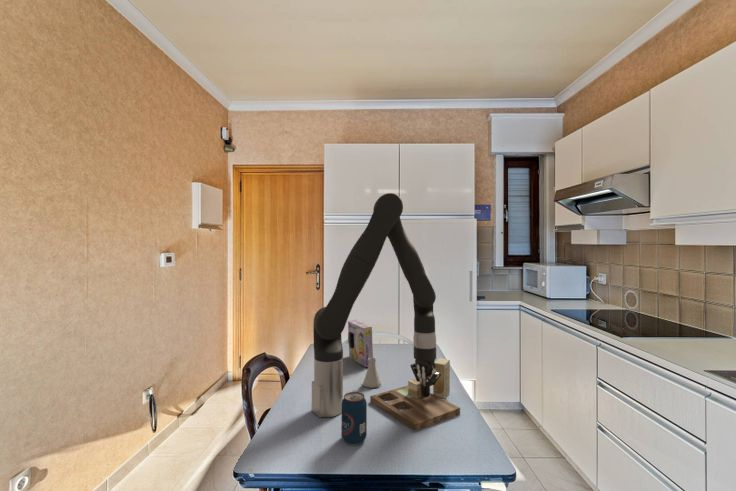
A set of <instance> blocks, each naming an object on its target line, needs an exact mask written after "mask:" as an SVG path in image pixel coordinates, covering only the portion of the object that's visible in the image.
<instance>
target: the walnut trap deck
mask: <svg viewBox="0 0 736 491" xmlns="http://www.w3.org/2000/svg"><path fill="white" fill-rule="evenodd" d="M369 398H370V399H369V402H370V403H371V404H373V405H374V406H376V407H378V408H379V409H381V410H382V411H383V412H385V413H387V414H388V415H390V416H391V417H392V418H394V419H396V420H397V421H399V422H400V423H402V424H403V425H405V426H407V428H410V429H411V430H412V431H415V432H417V431H419V430H422V429H424V428H427V427H429V426H433V425H435V424H437V423H441V422H443V421H445V420H448V419H450V418H454V417H456V416H458V415H461V407H459V406H457V404H456V405H455V404H454V403H452V402H449V400H446V399H443V398H440V397H438V396H436V395H433V393H431V392H430V395H429V397H426V398H425V397H423V396H422V397H419V398H415V397H414V396H412V395H410V394H408V385H405V386H400V387H397V388H394V389H390V390H388V391H383V392H380V393H377V394H373V395H370V396H369ZM388 399H389V401H385V400H388ZM402 408H405V410H403V411H401V410H400V409H402Z"/></svg>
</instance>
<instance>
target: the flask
mask: <svg viewBox="0 0 736 491" xmlns="http://www.w3.org/2000/svg"><path fill="white" fill-rule="evenodd" d="M368 361H369V365H368V367H367V370H366V374H365V377H364V379H363V382H362V385H363V387H364V388H369V389H371V388H373V389H374V388H376V389H377V388H379V387H381V386H382V382H381V379H380V377H379V373H378V371H377V365H376V361H377V358H376V357H373V358H368Z"/></svg>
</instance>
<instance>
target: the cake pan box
mask: <svg viewBox="0 0 736 491" xmlns="http://www.w3.org/2000/svg"><path fill="white" fill-rule="evenodd" d="M347 328H348V329H347V331H348V333H347V342H348V356H349V358H350V359H352V360H354V361H355V362H356V363H358V364H360V365H361V366H363V367H364V368H368V365H369V361H368V358H374V355H373V354H374V350H373V349H374V348H373V329H372V328H373V327H372V326H370V325H368V324H366V323H365V322H363V321H362V322H361V321H359V320H357V319H353V320H347Z"/></svg>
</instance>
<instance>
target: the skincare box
mask: <svg viewBox="0 0 736 491" xmlns="http://www.w3.org/2000/svg"><path fill="white" fill-rule="evenodd" d="M435 366H436V368H435V369H436V371H437V372H440V373H441V376H440V377H439V379H438V380H437V382H436V383H435V384H434V385H432V387H433V389H432V390H433V391H432V392H433V393H432V394H433V395H436V396H438V397H440V398H442V399H444V400H446V398H447V397H448V396H449V395H450V393H451V392H450V391H451V381H450V380H451V377H450V376H451V375H450V374H451V370H450V369H451V368H450V366H451V361H450V359H447V358H440V357H439V358H436V359H435Z"/></svg>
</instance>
